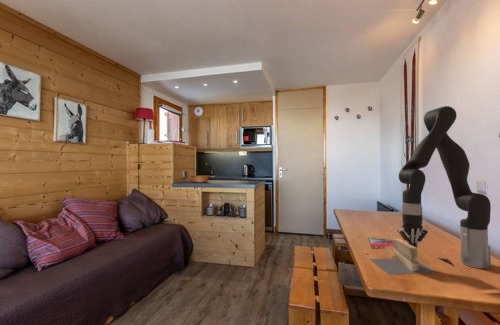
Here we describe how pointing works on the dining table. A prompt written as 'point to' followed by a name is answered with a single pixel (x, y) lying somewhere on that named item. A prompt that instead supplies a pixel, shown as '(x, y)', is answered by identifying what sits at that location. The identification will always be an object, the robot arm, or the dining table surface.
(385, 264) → the mat
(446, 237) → the dining table surface
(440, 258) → the cell phone
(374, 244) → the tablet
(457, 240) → the dining table surface
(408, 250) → the tile
